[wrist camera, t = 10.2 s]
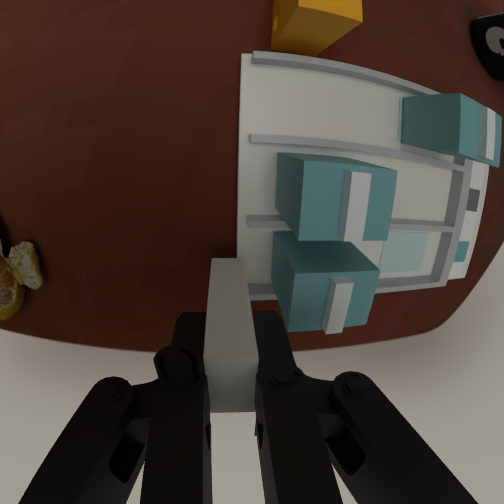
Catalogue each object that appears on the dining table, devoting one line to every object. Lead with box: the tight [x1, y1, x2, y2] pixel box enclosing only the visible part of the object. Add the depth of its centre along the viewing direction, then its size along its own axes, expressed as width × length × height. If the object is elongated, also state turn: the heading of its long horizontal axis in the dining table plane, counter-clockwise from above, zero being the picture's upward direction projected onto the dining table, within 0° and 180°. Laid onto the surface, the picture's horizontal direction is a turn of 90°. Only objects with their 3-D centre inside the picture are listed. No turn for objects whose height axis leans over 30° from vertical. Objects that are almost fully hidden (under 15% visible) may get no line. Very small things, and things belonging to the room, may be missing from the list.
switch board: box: [237, 51, 489, 301], centre depth 15 cm, size 20×14×2 cm
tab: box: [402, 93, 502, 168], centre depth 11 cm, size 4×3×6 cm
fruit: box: [0, 241, 43, 320], centre depth 14 cm, size 8×8×4 cm
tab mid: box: [275, 152, 398, 242], centre depth 12 cm, size 4×3×6 cm
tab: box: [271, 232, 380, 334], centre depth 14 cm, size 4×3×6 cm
